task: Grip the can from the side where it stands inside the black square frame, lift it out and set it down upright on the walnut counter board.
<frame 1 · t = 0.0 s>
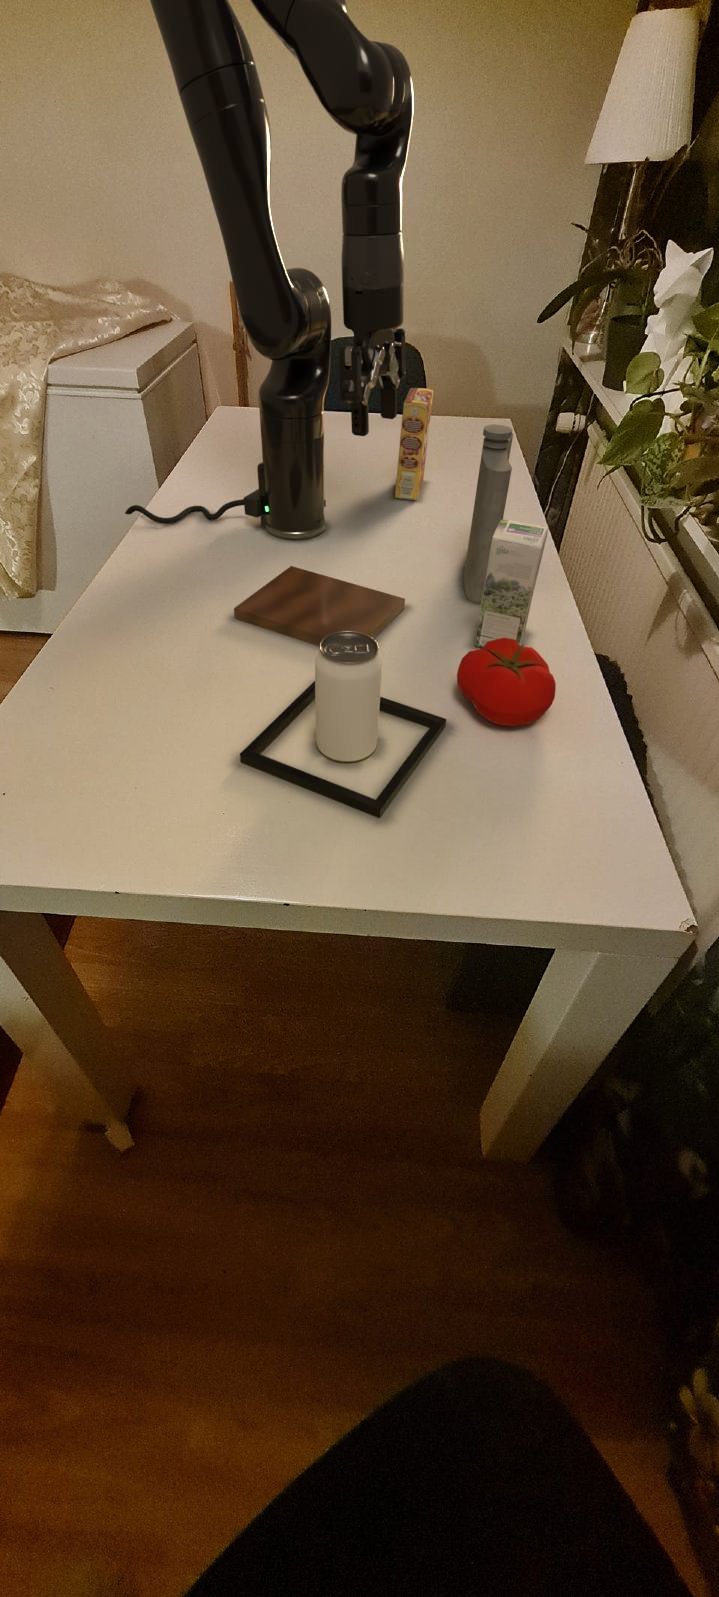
hand: (374, 426, 97), 17 cm above the table, tool pointing down, fingers open, 8 cm apart
counter board: (321, 613, 94), on the table
candy box: (409, 491, 126), on the table
can: (346, 745, 75), resting in black square frame
black square frame: (346, 744, 75), on the table
syrup box: (499, 641, 91), on the table
tomato: (501, 706, 81), on the table
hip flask: (476, 577, 103), on the table
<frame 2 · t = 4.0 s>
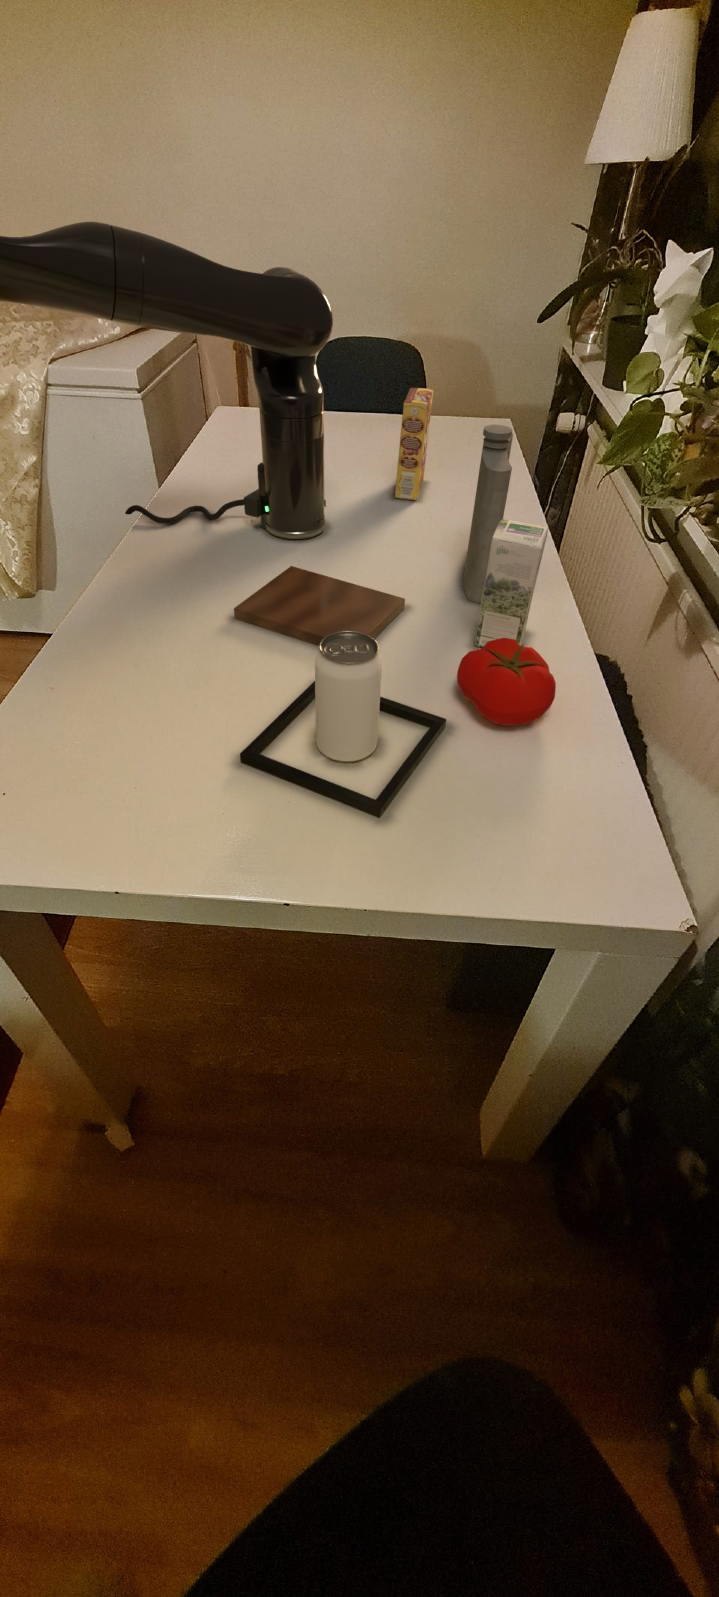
nothing on the table moved.
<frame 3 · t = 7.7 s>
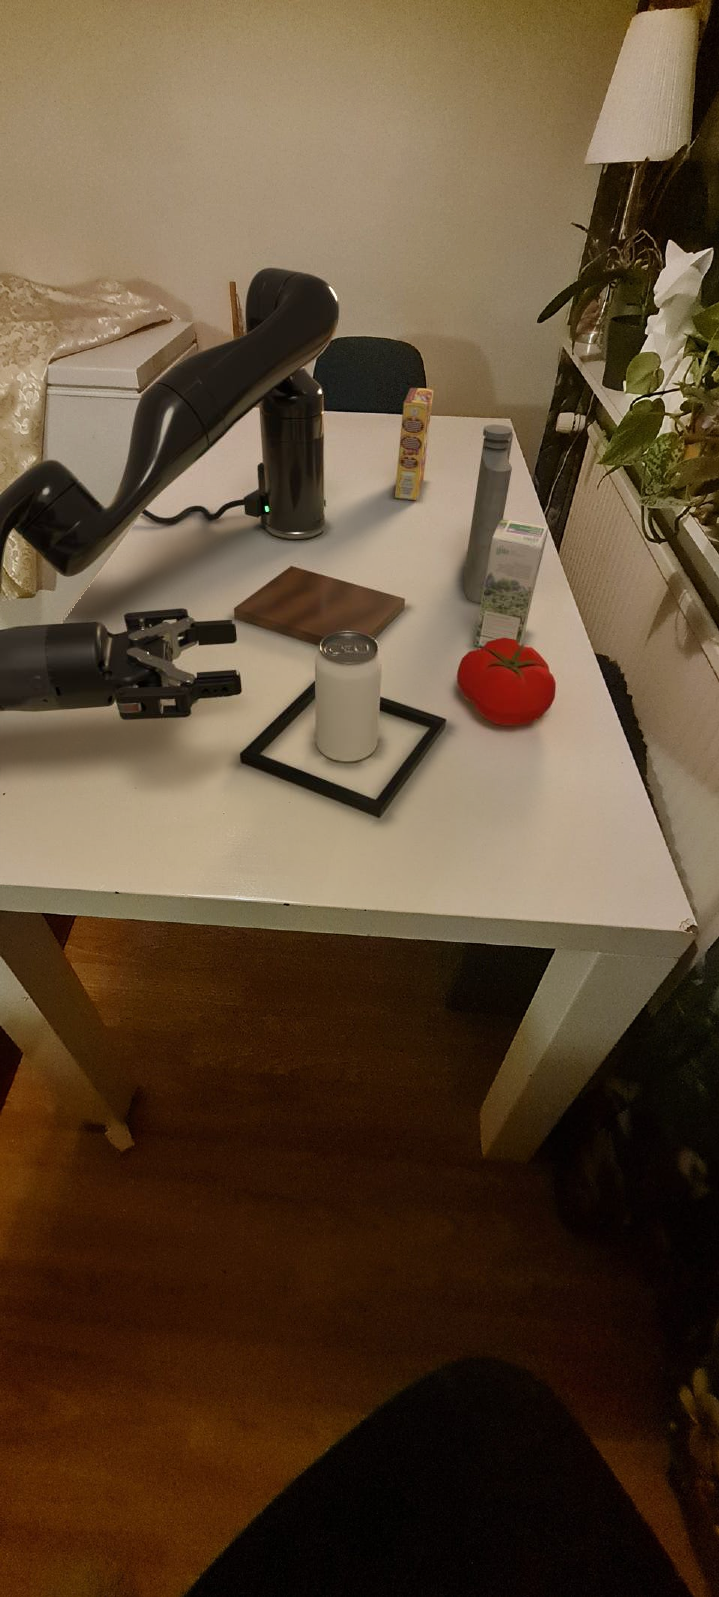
hand: (238, 655, 65), 12 cm above the table, tool horizontal, fingers open, 8 cm apart
nothing on the table moved.
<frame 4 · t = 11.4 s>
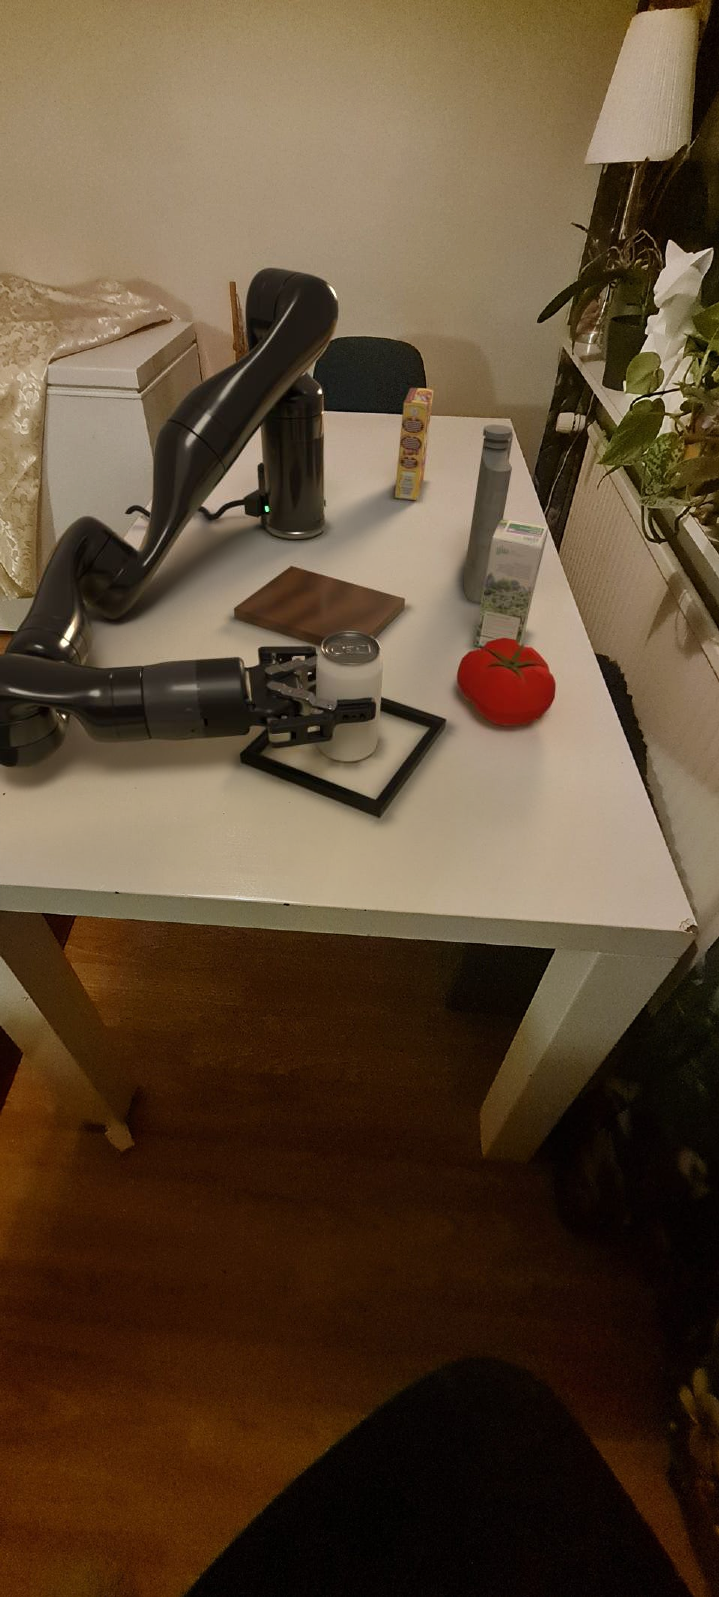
hand: (367, 687, 70), 7 cm above the table, tool horizontal, fingers closed on can, 6 cm apart
can: (346, 745, 75), resting in black square frame, touching gripper
everything else where it was.
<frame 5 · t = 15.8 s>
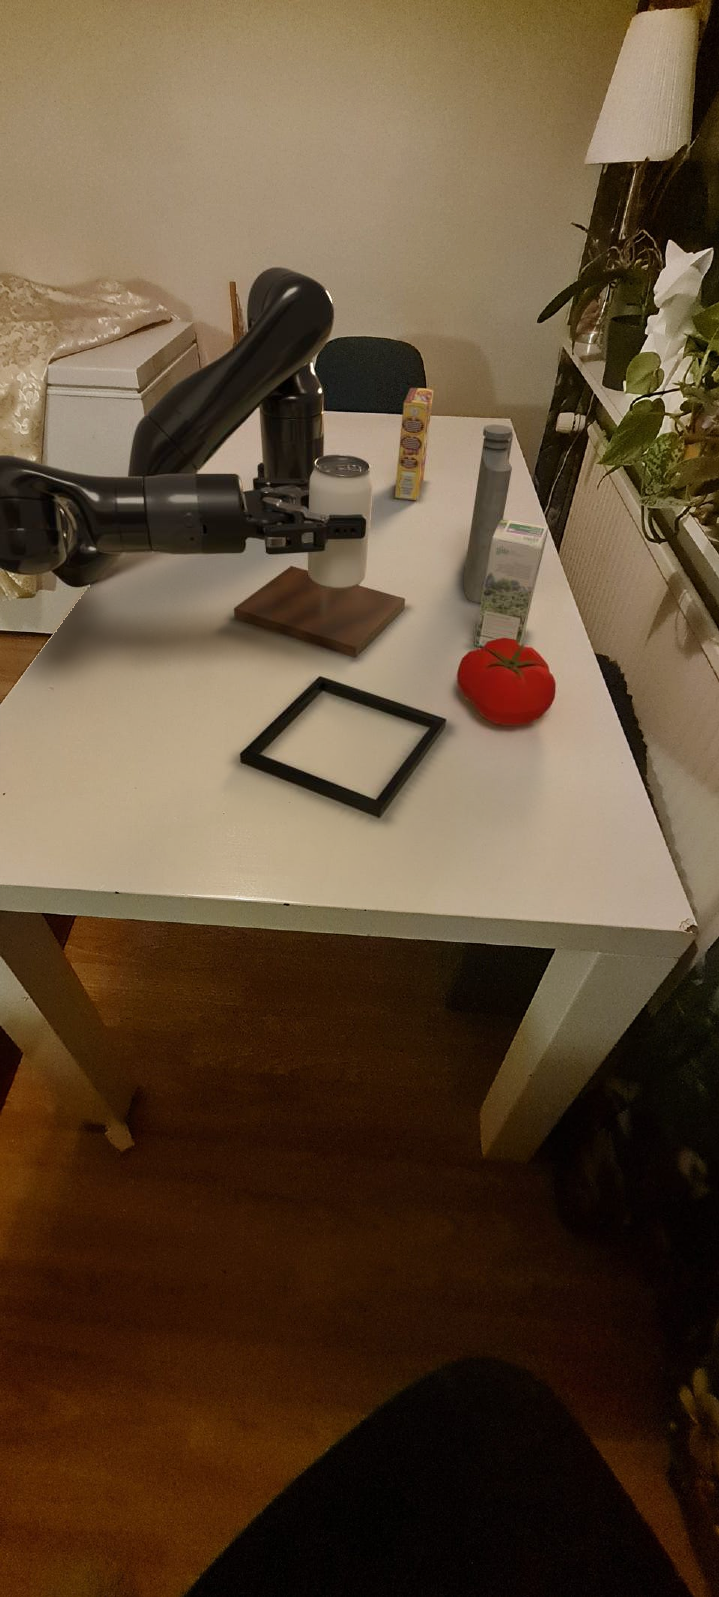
hand: (357, 512, 74), 18 cm above the table, tool horizontal, fingers closed on can, 6 cm apart
can: (336, 578, 79), point 11 cm above the table, touching gripper
everything else where it was.
when the fingers open (9 cm above the table, at t = 20.3 s): can stays where it is, resting on counter board.
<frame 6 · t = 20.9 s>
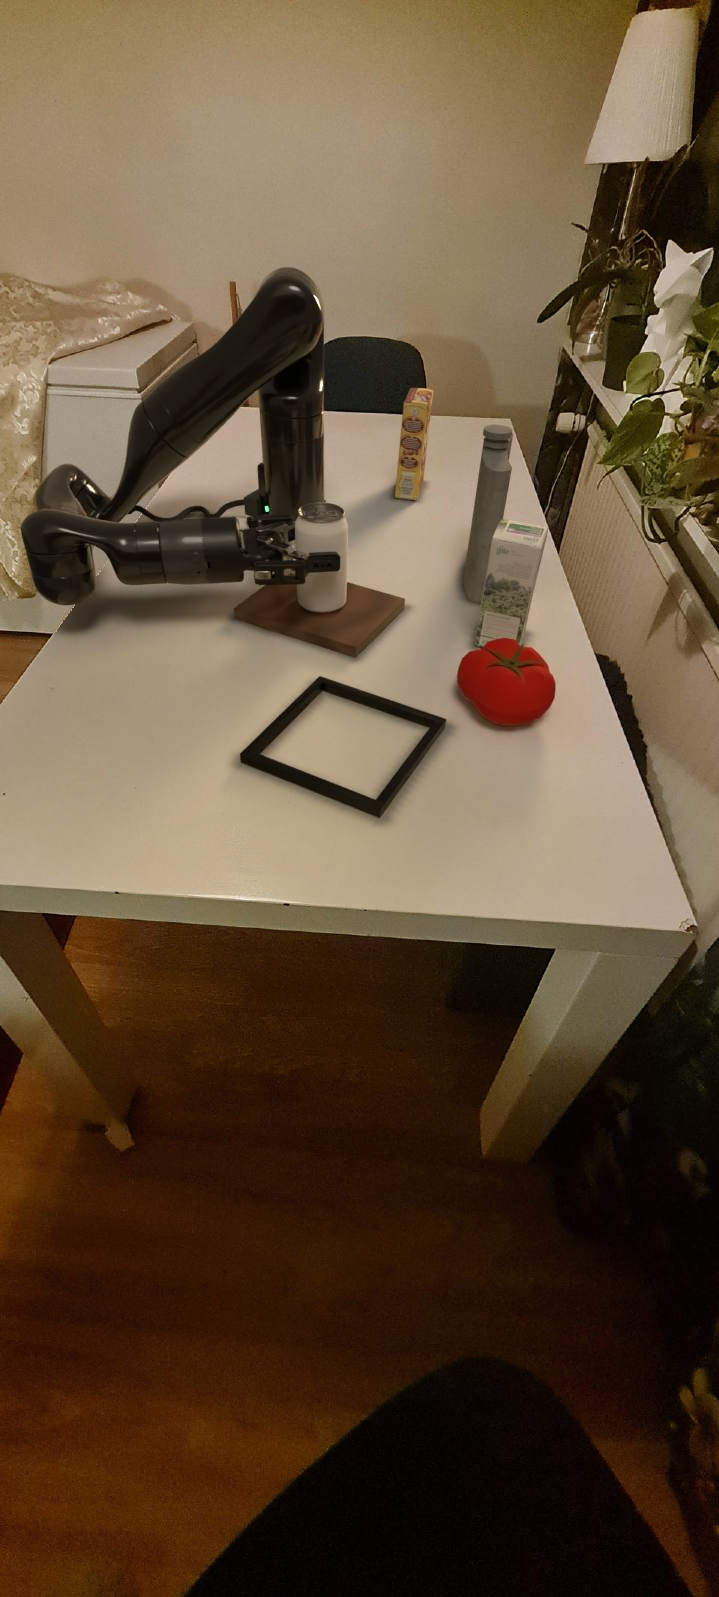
hand: (334, 545, 88), 9 cm above the table, tool horizontal, fingers open, 8 cm apart
can: (321, 603, 93), point 1 cm above the table, touching counter board
everything else where it was.
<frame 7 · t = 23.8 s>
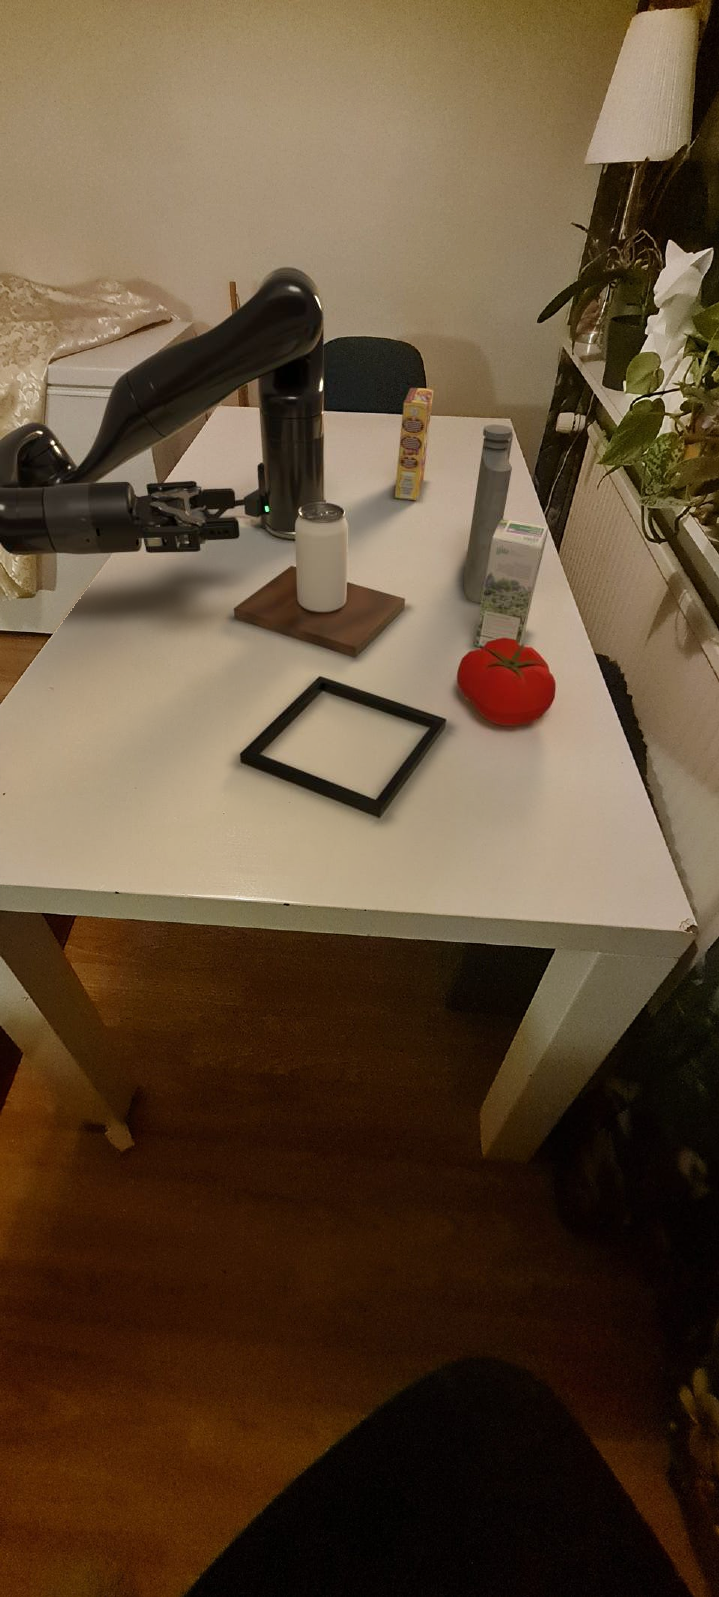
hand: (237, 512, 83), 14 cm above the table, tool horizontal, fingers open, 8 cm apart
nothing on the table moved.
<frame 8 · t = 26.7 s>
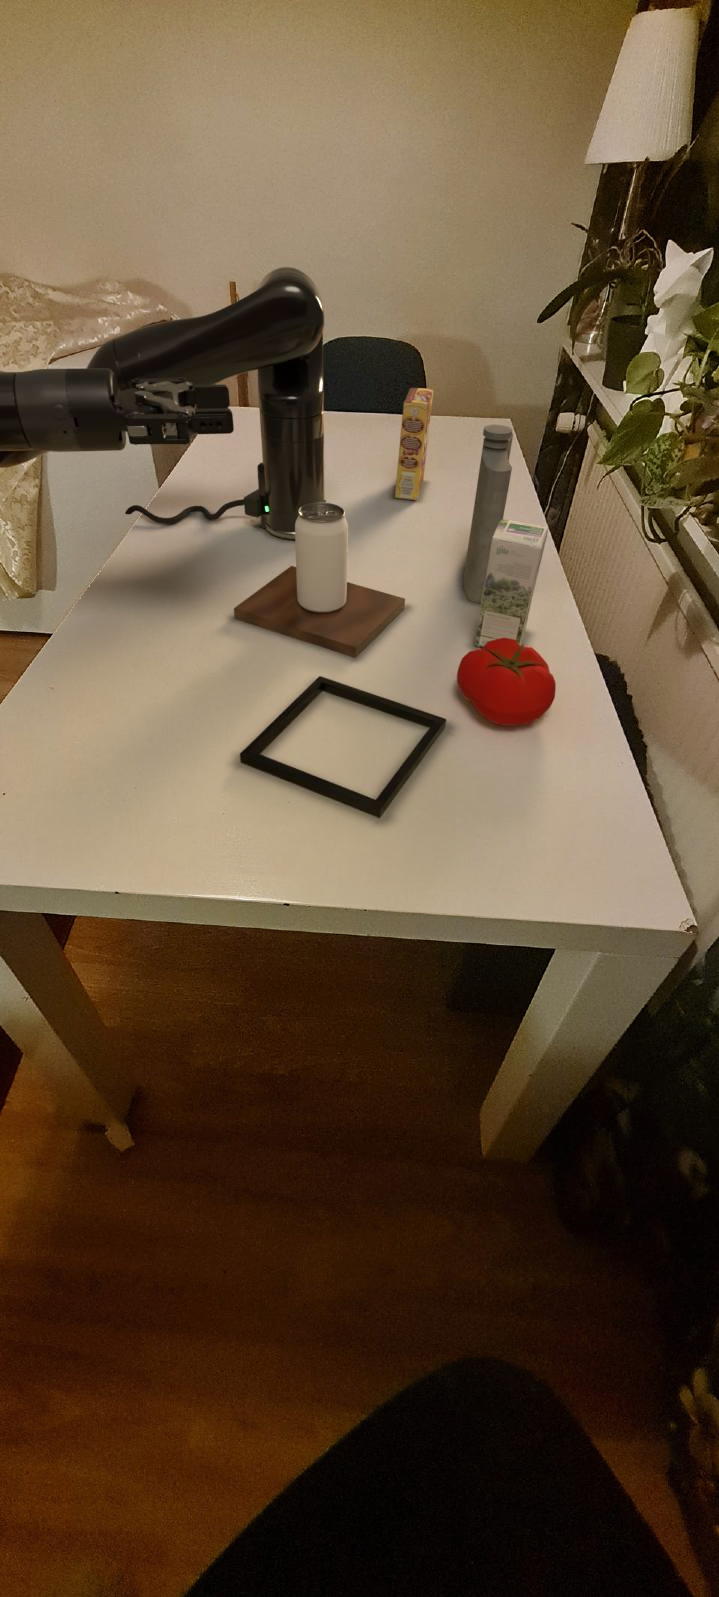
hand: (231, 407, 75), 25 cm above the table, tool horizontal, fingers open, 8 cm apart
nothing on the table moved.
at the end: can inside the target area on the counter board (0.3 cm from its centre), point 1.3 cm above the counter board's base; can tilted 0°; the gripper is holding nothing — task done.
